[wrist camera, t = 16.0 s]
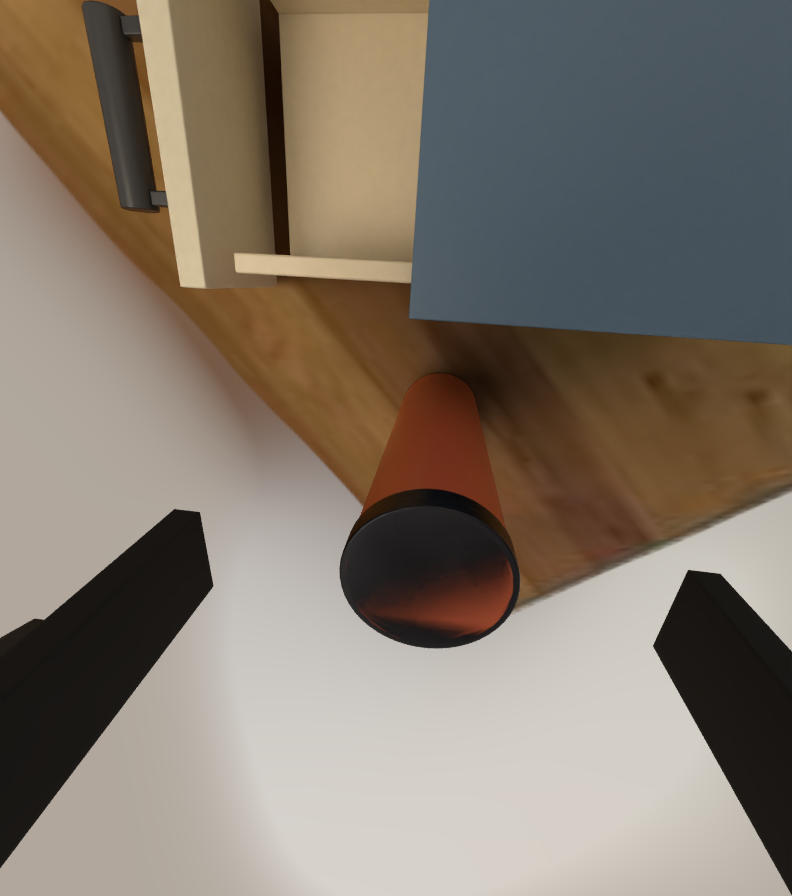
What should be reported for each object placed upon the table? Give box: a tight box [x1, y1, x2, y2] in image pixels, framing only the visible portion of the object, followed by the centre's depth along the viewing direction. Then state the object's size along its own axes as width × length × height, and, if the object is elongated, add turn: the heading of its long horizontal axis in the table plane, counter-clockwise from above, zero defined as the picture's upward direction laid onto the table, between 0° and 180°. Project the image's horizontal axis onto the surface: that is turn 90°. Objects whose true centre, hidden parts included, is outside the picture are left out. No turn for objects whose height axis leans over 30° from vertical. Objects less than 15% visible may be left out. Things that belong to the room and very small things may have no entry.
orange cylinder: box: [340, 373, 520, 648], centre depth 19 cm, size 5×5×17 cm
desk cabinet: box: [409, 0, 792, 345], centre depth 16 cm, size 15×15×10 cm
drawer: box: [82, 0, 429, 289], centre depth 17 cm, size 18×13×8 cm
